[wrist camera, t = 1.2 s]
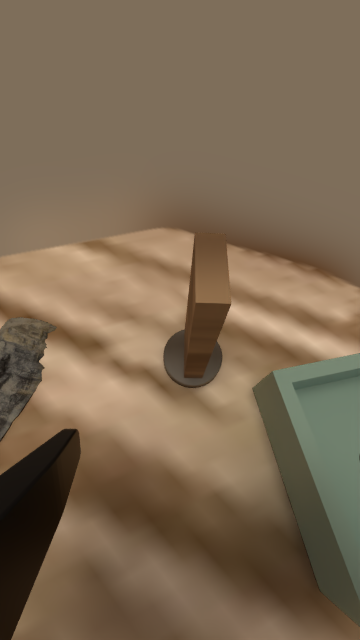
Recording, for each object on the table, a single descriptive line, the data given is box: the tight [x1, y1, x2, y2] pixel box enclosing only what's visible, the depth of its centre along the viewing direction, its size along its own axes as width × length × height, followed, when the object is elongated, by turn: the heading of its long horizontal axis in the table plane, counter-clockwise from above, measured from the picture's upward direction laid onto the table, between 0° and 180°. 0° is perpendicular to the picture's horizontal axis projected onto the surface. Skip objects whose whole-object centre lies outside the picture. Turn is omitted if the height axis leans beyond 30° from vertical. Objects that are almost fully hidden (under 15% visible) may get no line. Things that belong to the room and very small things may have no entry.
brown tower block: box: [164, 233, 231, 388], centre depth 18 cm, size 5×5×13 cm
